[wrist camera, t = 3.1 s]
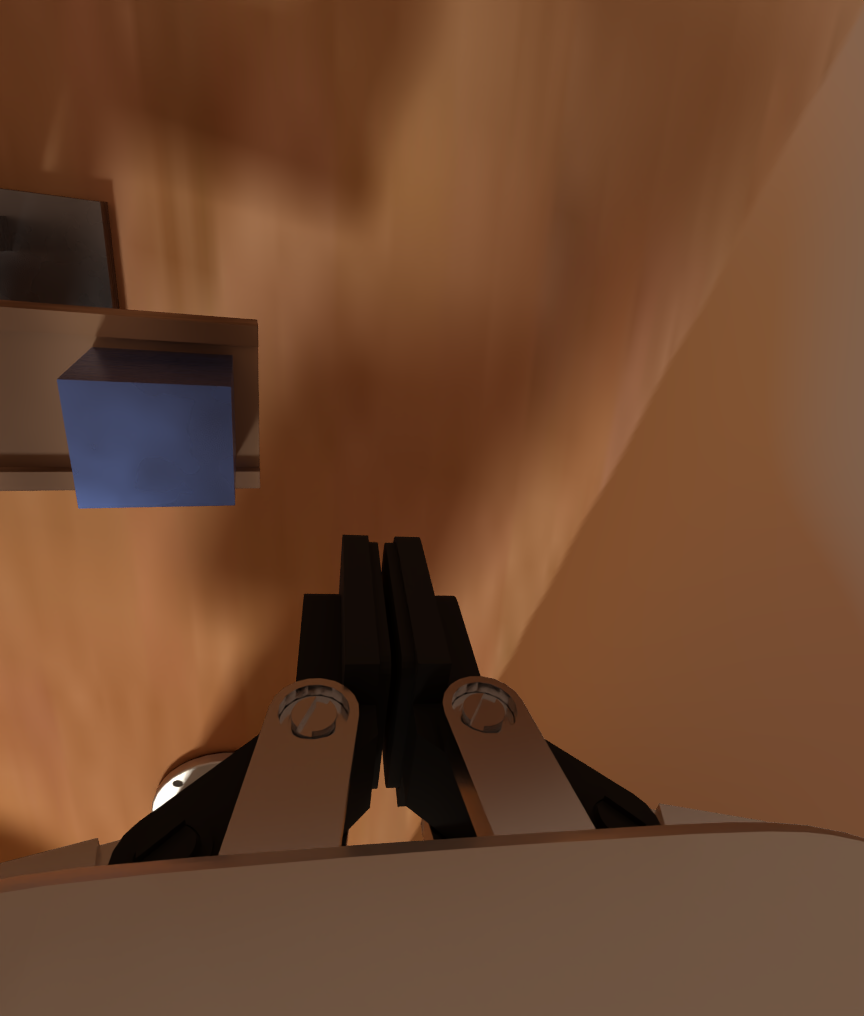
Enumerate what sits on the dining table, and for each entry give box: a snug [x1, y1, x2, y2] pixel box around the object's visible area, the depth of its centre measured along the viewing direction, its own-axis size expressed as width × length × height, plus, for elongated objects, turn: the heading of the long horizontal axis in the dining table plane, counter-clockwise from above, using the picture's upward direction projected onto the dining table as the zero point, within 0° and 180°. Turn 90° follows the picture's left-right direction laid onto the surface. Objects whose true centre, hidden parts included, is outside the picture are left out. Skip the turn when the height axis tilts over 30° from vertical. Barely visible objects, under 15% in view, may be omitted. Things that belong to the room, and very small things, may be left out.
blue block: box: [57, 347, 236, 508], centre depth 21 cm, size 5×4×5 cm
